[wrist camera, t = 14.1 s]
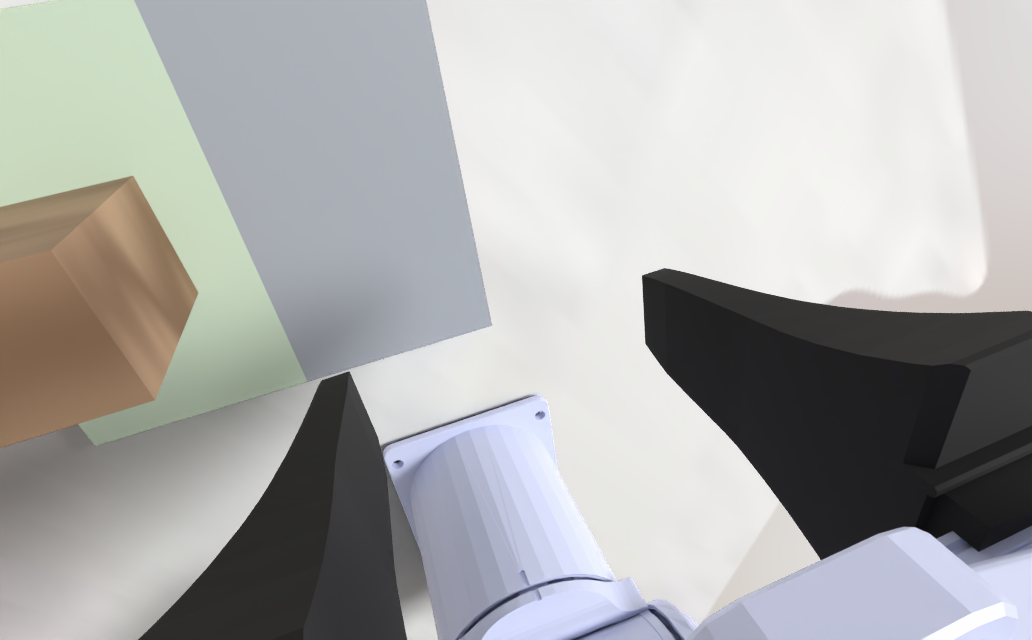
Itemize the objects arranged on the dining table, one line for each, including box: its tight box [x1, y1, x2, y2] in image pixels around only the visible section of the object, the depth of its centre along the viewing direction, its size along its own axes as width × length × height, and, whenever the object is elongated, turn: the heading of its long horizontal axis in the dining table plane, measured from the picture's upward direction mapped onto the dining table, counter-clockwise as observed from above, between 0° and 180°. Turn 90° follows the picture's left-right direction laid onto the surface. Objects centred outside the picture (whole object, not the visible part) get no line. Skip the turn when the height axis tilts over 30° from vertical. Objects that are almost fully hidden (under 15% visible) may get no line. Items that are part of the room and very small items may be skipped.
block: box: [0, 176, 198, 448], centre depth 14 cm, size 4×4×6 cm
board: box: [0, 0, 492, 446], centre depth 18 cm, size 13×15×1 cm
